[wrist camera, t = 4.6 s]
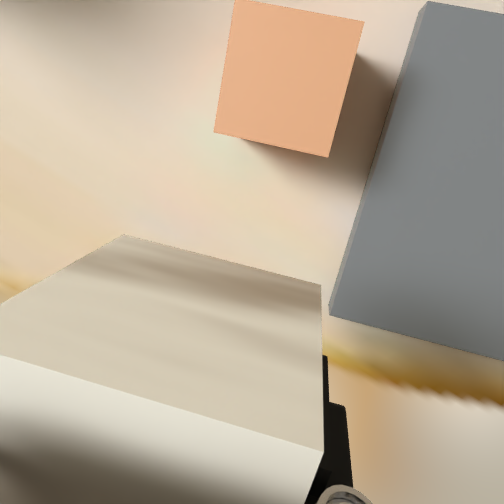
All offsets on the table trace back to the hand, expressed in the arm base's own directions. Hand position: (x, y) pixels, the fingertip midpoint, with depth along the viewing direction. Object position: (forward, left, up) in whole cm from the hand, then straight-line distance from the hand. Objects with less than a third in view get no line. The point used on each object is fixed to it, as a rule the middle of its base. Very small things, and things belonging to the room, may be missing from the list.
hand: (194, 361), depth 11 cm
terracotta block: (-9, 0, -13) cm, 16 cm away
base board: (-6, +14, -13) cm, 20 cm away
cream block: (0, 0, -1) cm, 1 cm away
